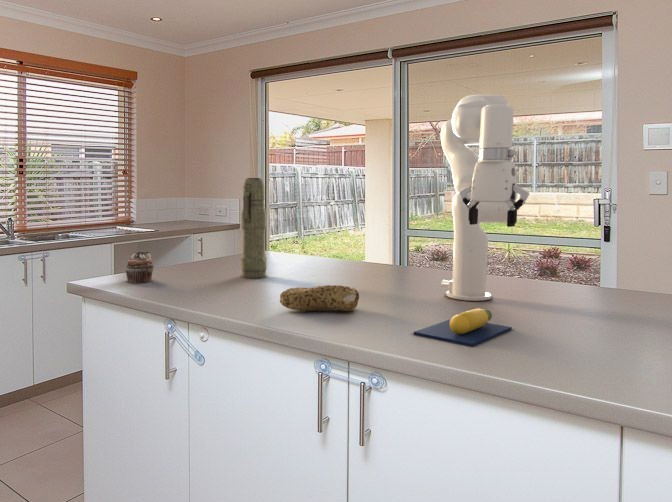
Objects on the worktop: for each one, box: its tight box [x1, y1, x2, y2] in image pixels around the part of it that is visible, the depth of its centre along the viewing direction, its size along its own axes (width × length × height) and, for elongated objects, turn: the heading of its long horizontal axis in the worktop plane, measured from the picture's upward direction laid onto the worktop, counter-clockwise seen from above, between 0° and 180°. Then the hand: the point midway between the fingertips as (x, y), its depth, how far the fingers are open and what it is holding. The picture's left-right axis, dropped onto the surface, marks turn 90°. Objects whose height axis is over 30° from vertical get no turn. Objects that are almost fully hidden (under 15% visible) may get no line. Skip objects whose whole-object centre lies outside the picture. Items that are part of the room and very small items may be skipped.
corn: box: [449, 307, 493, 334], centre depth 136 cm, size 16×4×4 cm
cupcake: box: [124, 251, 155, 284], centre depth 203 cm, size 10×10×10 cm
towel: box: [413, 319, 513, 347], centre depth 137 cm, size 14×20×1 cm
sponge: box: [279, 284, 360, 312], centre depth 159 cm, size 13×8×20 cm
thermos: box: [240, 177, 268, 279], centre depth 211 cm, size 9×12×35 cm
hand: (491, 225), depth 150 cm, fingers open, 9 cm apart
